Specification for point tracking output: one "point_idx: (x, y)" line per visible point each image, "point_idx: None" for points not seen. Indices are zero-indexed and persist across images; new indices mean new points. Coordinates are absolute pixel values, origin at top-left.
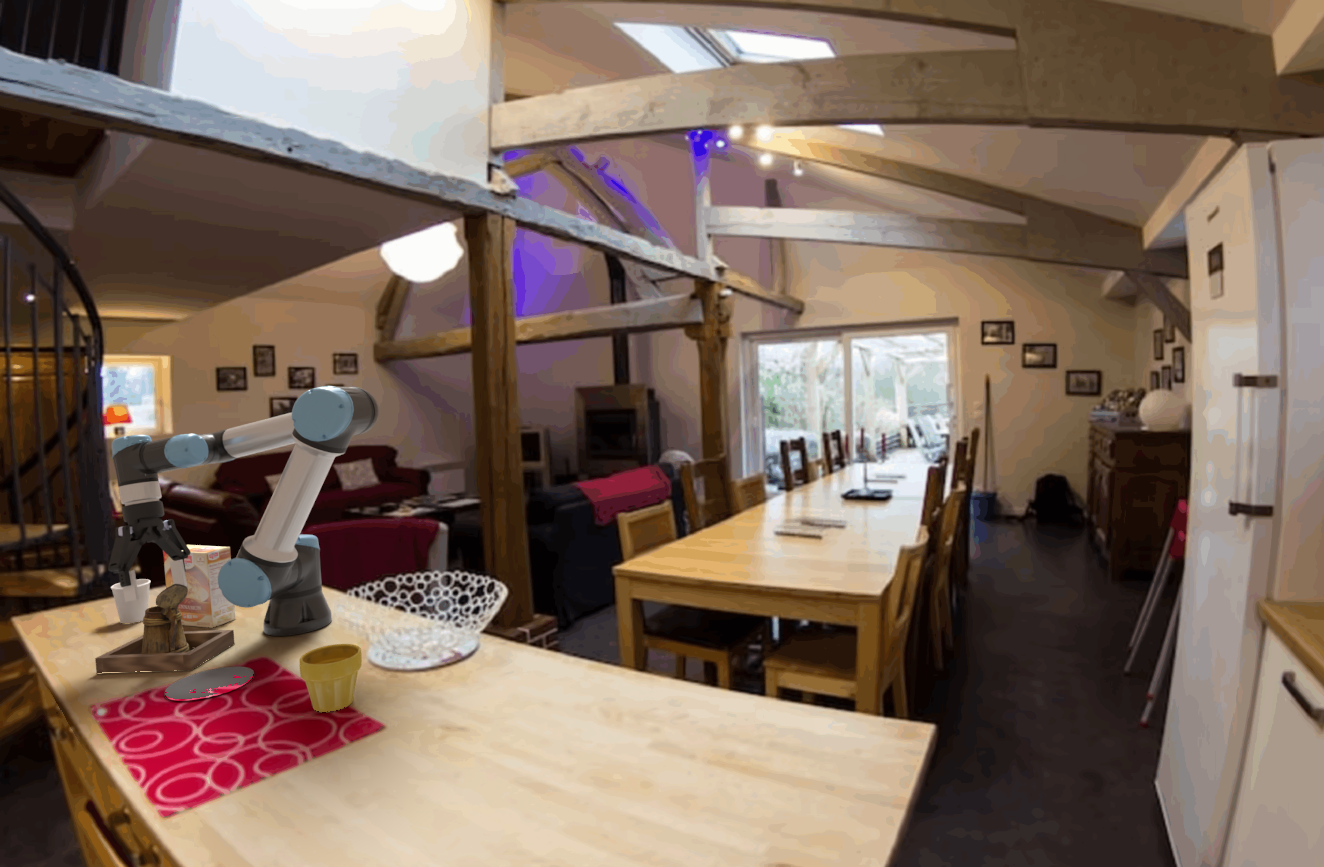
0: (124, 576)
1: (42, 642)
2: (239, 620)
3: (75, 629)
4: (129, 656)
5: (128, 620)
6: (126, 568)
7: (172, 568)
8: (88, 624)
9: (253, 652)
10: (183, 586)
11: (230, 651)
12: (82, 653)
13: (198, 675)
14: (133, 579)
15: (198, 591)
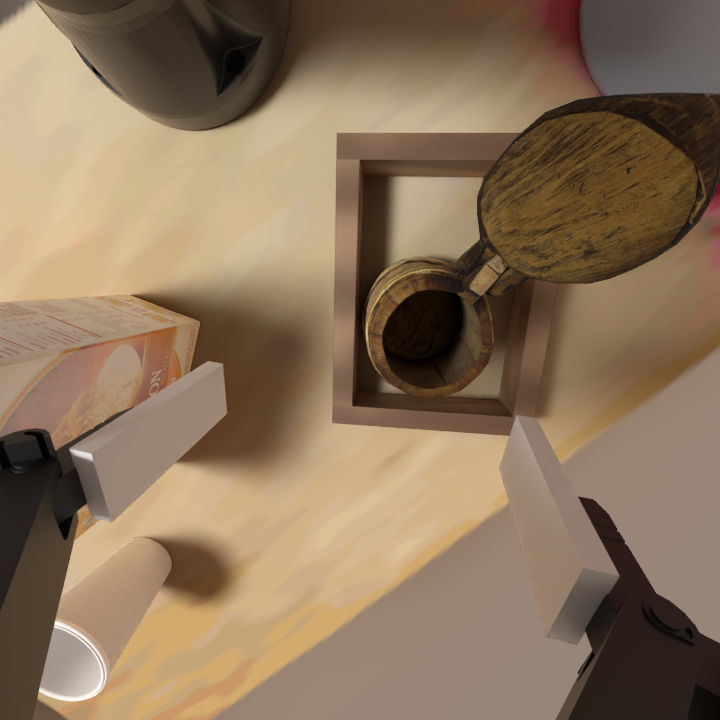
0: (636, 569)
1: (279, 655)
2: (139, 275)
3: (203, 642)
4: (542, 344)
5: (164, 563)
6: (689, 623)
7: (150, 475)
8: (173, 636)
9: (430, 25)
10: (610, 96)
11: (407, 125)
12: (360, 537)
13: (637, 76)
14: (575, 504)
15: (109, 393)
